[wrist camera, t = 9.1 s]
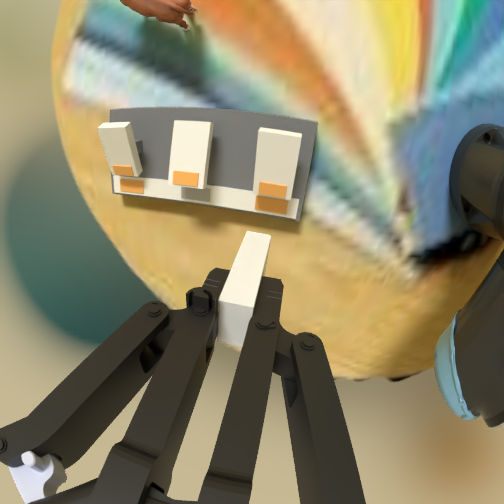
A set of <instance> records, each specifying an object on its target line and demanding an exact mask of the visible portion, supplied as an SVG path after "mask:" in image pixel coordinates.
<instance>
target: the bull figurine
mask: <svg viewBox="0 0 504 504" xmlns="http://www.w3.org/2000/svg"><path fill="white" fill-rule="evenodd" d="M120 1H121V3H122V4H124V5H125V6H128V7H129V8H131V9H132V10H134V11H136V12H138V13H139V14H141V15H143V16H147V17H154V16H155V17H156V18H157V19H158V20H159V21H162V22H168V23H175V24H177V25H179V26H180V27H182V29H183V30H184V31H187V30H188V31H189V30H190V29H191V27H190V26H189V25H188V24H186V22H185V21H183V20H182V19H183V15H184V14H192V13H198V9H197V8H195V7H193V6H191V2H190V0H120ZM187 10H190V11H187Z"/></svg>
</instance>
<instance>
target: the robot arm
mask: <svg viewBox="0 0 504 504" xmlns="http://www.w3.org/2000/svg"><path fill="white" fill-rule="evenodd" d="M450 188H451V195H452V199H453V203H454V206H455V208H456V210H457V212H458V214H459V215H460V216H461V218H462V219H463V220H464V221H465V222H466V223H467V224H468V225H469V226H470V227H471V228H473V229H474V230H475V231H477V232H479V233H481V234H484V235H487V236H490V237H493V238H496V239H499V240H502V241H504V127H501V126H498V125H494V124H482V125H479V126H477V127H475V128H473V129H472V130H470V131H469V132H468V133H467V134H466V135H465V136H464V138H463V139H462V140H461V142H460V144H459V145H458V148H457V150H456V152H455V155H454V158H453V162H452V166H451V173H450ZM270 240H271V235H267V234H261V233H256V232H250V231H247V232H246V235H245V237H244V239H243V242H242V244H241V247H240V249H239V251H238V254H237V256H236V259H235V261H234V263H233V266H232V268H231V271H230V270H225V269H220V268H215V269H213V270H212V271H211V272H209V274H208V276H207V278H206V280H205V282H204V284H203V286H202V287H197V288H193V289H191V290H189V291H188V292H187V293H186V303H187V308H185V309H180V310H169V309H168V307H167V305H165V304H164V303H162V302H158V301H152V302H148V303H146V304H145V305H143V306H142V307H141V308H140V309H139V310H138V311H137V312H135V313H134V314H133V315H132V316H131V317H130V318H129V319H128V320H127V321H126V322H125V323H123V324H122V325H121V326H120V327H119V328H118V329H117V330H116V331H115V332H114V333H113V334H112V335H110V336H109V337H108V338H107V339H106V340H105V341H104V342H103V343H102V344H101V345H100V346H99V347H98V348H97V349H95V350H94V351H93V352H92V353H91V354H90V355H89V356H88V357H87V358H86V359H85V360H84V361H83V362H82V363H81V364H80V365H79V366H78V367H77V368H76V369H75V370H74V371H72V372H71V373H70V375H68V376H67V377H66V378H65V379H64V380H63V381H62V382H61V383H60V384H59V385H58V386H57V387H56V388H55V389H54V390H53V391H52V392H51V393H50V394H49V395H48V396H47V397H46V398H45V399H44V400H43V401H42V402H41V403H40V404H39V405H38V406H37V407H36V408H35V409H34V410H33V411H32V412H31V413H30V414H29V416H27V417H26V418H23V419H21V420H19V421H16V422H14V423H12V424H10V425H7V426H5V427H3V428H0V462H2V463H4V464H5V465H7V466H8V468H9V470H10V472H11V475H12V477H13V479H14V481H15V484H16V486H17V488H18V490H19V492H20V494H21V496H22V498H23V500H24V502H25V504H249V500H250V495H251V490H252V479H253V474H254V468H255V464H256V459H257V454H258V449H259V444H260V439H261V434H262V427H263V423H264V417H265V412H266V406H267V400H268V394H269V388H270V382H271V376H272V372H274V373H276V374H278V375H280V376H281V381H282V387H283V393H284V399H285V406H286V412H287V419H288V425H289V431H290V438H291V444H292V451H293V457H294V464H295V471H296V476H297V483H298V491H299V497H300V504H366V502H365V498H364V494H363V489H362V485H361V480H360V476H359V472H358V468H357V464H356V460H355V456H354V452H353V448H352V444H351V440H350V436H349V433H348V429H347V425H346V422H345V418H344V414H343V410H342V407H341V403H340V400H339V396H338V393H337V389H336V386H335V382H334V379H333V376H332V372H331V369H330V365H329V362H328V359H327V356H326V352H325V349H324V346H323V343H322V341H321V339H320V338H319V337H318V336H316V335H314V334H312V333H308V332H303V333H299V334H297V335H294V334H291V333H289V332H288V331H286V330H285V329H284V328H283V327H282V326H281V324H280V322H279V317H280V310H281V302H282V295H283V287H284V286H283V284H282V281H281V279H276V278H270V277H265V276H264V274H265V270H266V264H267V258H268V252H269V246H270ZM216 337H217V342H222V343H226V344H231V345H235V346H240V347H242V350H241V354H240V358H239V362H238V365H237V369H236V372H235V376H234V380H233V384H232V387H231V391H230V395H229V398H228V402H227V405H226V409H225V413H224V417H223V420H222V424H221V427H220V431H219V434H218V438H217V441H216V445H215V448H214V452H213V455H212V459H211V462H210V466H209V469H208V472H207V474H206V476H205V479H204V482H203V485H202V488H201V491H200V495H199V498H198V501H182V500H174V499H171V498H169V497H167V493H168V490H169V487H170V484H171V479H172V470H173V467H174V464H175V462H176V459H177V456H178V453H179V450H180V447H181V444H182V441H183V438H184V435H185V432H186V429H187V427H188V423H189V421H190V418H191V415H192V412H193V409H194V406H195V403H196V400H197V397H198V395H199V392H200V389H201V386H202V383H203V380H204V377H205V374H206V371H207V369H208V366H209V363H210V360H211V357H212V354H213V351H214V343H215V340H216ZM434 360H435V363H434V369H435V375H436V379H437V383H438V386H439V389H440V391H441V394H442V396H443V398H444V400H445V402H446V404H447V405H448V406H449V408H450V409H451V410H452V412H453V413H454V414H455V415H457V416H461V418H462V419H464V420H471V419H476V418H477V417H479V416H480V415H481V416H482V417H483V419H484V420H485V422H486V423H487V425H488V427H489V428H490V429H504V249H503V251H502V253H501V254H500V256H499V258H498V259H497V260H496V262H495V263H494V265H493V267H492V268H491V270H490V271H489V273H488V274H487V276H486V277H485V279H484V280H483V281H482V283H481V284H480V286H479V287H478V288H477V290H476V291H475V293H474V294H473V295H472V297H471V298H470V299H469V301H468V302H467V303H466V304H465V306H464V307H463V308H462V309H461V310H459V311H457V312H456V314H455V315H454V317H453V320H452V321H451V323H450V324H449V325H448V326H447V328H446V329H445V330H444V331H443V333H442V334H441V335H440V337H439V339H438V341H437V343H436V347H435V352H434ZM152 375H153V376H152ZM151 376H152V378H151ZM150 378H151V380H150V382H149V384H148V386H147V389H146V391H145V393H144V395H143V397H142V399H141V401H140V403H139V405H138V408H137V410H136V412H135V414H134V416H133V418H132V420H131V423H130V425H129V427H128V429H127V431H126V434H125V436H124V438H123V439H122V441H121V442H118V443H116V444H115V445H114V446H113V447H112V449H111V451H110V452H109V455H108V457H107V459H106V461H105V464H104V466H103V468H102V470H101V473H100V475H99V477H98V478H96V479H93V480H91V481H89V482H86V483H84V484H81V485H79V486H76V487H74V488H71V489H69V490H66V491H63V492H60V493H58V494H56V491H57V488H58V487H59V486H60V485H61V484H62V483H64V482H66V480H67V476H66V473H65V469H66V468H68V467H70V466H71V465H73V464H74V463H75V462H77V461H78V460H79V459H80V458H81V457H82V456H83V455H84V454H85V453H86V452H87V450H88V449H89V448H90V447H91V446H92V445H93V444H94V442H95V441H96V440H97V439H98V438H99V437H100V435H101V434H102V433H103V432H104V431H105V430H106V429H107V427H108V426H109V425H110V424H111V423H112V422H113V420H114V419H115V418H116V417H117V416H118V415H119V413H120V412H121V411H122V410H123V409H124V408H125V406H126V405H127V404H128V403H129V402H130V401H131V400H132V398H133V397H134V396H135V395H136V394H137V393H138V391H139V390H140V389H141V388H142V387H143V386H144V384H145V383H146V382H147V381H148V380H149V379H150Z"/></svg>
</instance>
